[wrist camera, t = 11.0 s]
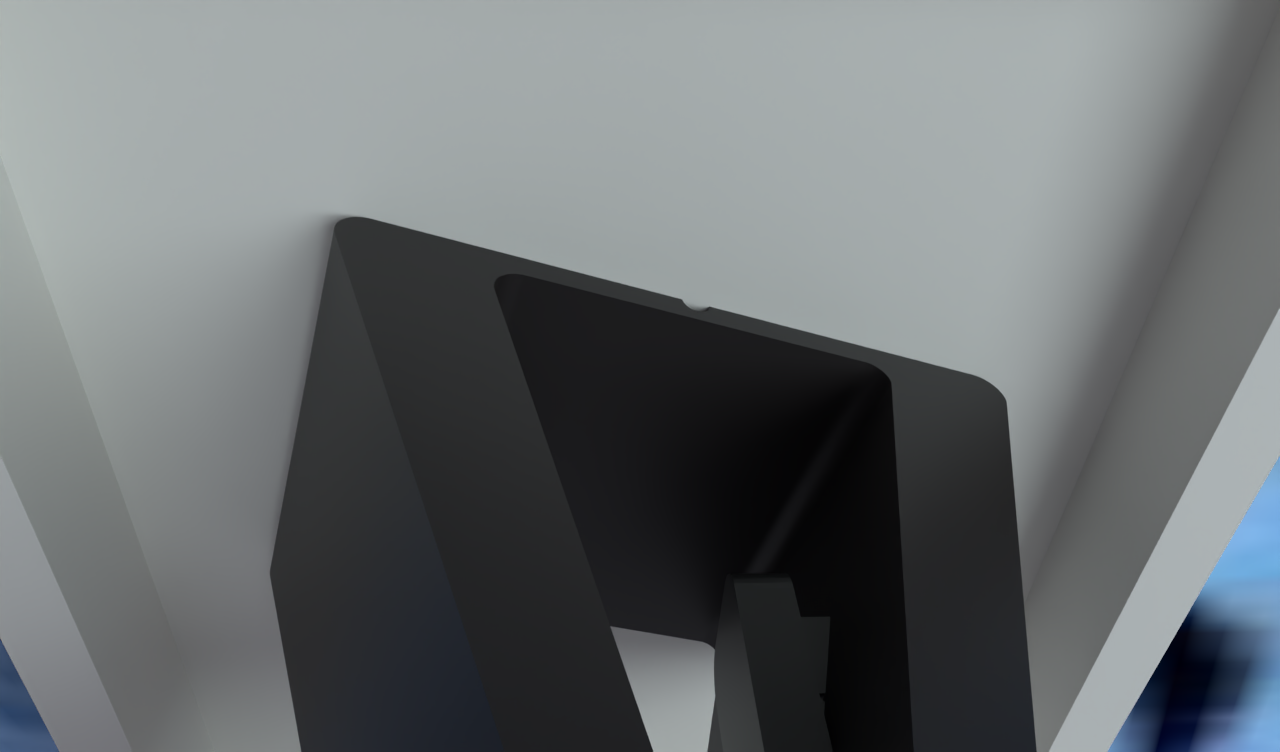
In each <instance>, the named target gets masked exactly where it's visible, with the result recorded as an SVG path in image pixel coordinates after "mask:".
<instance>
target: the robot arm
mask: <svg viewBox="0 0 1280 752" xmlns="http://www.w3.org/2000/svg"><path fill="white" fill-rule="evenodd" d="M829 631H830V617H801V616H800V612H799V608H798V604H797V600H796V595H795V591H794V587H793V584H792V581H791V578H790V576H789V575H788V574H787V573H747V574H728V575H727V577H726V580H725V585H724V592H723V599H722V605H721V612H720V619H719V625H718V632H717V638H716V645H715V653H714V686H715V698H716V706H717V713H718V720H719V727H720V733H721V740H722V747H723V752H833V749H832V745H831V741H830V737H829V732H828V728H827V724H826V720H825V716H824V710H825V701H823V698H824V695H825V693H826V678H827V663H828V647H829Z"/></svg>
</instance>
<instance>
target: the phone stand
mask: <svg viewBox="0 0 1280 752" xmlns="http://www.w3.org/2000/svg"><path fill="white" fill-rule="evenodd" d="M747 573H787V574H788V575H789V576H790V578H791V581H792V584H793V587H794V591H795V595H796V600H797V604H798V608H799V612H800V616H801V617H830V631H829V647H828V663H827V678H826V693H825V695H824V698H823V701H825V710H824V716H825V720H826V724H827V728H828V732H829V737H830V741H831V745H832V749H833V752H1037V749H1036V738H1035V726H1034V714H1033V703H1032V691H1031V679H1030V668H1029V656H1028V644H1027V633H1026V621H1025V609H1024V598H1023V586H1022V574H1021V563H1020V551H1019V539H1018V528H1017V516H1016V504H1015V492H1014V481H1013V469H1012V457H1011V446H1010V434H1009V422H1008V411H1007V401H1006V399H1005V397H1004V395H1003V394H1002V393H1001V392H1000V391H999V390H998V389H997V388H996V387H995V386H994V385H992V384H991V383H989V382H988V381H986V380H984V379H982V378H980V377H978V376H975V375H972V374H968V373H964V372H960V371H956V370H952V369H949V368H945V367H941V366H937V365H933V364H929V363H926V362H922V361H918V360H914V359H910V358H906V357H902V356H899V355H895V354H891V353H887V352H883V351H879V350H875V349H872V348H868V347H864V346H860V345H856V344H852V343H848V342H845V341H841V340H837V339H833V338H829V337H825V336H821V335H818V334H814V333H810V332H806V331H802V330H798V329H794V328H791V327H787V326H783V325H779V324H775V323H771V322H768V321H764V320H760V319H756V318H752V317H748V316H744V315H741V314H737V313H733V312H729V311H725V310H721V309H717V308H714V307H710V306H709V309H708V311H706V312H699V311H696V310H693V309H691V308H689V307H688V306H687V305H686V304H685V303H684V302H683V300H682V299H679V298H675V297H671V296H667V295H663V294H660V293H656V292H652V291H648V290H644V289H640V288H636V287H633V286H629V285H625V284H621V283H617V282H613V281H610V280H606V279H602V278H598V277H594V276H590V275H586V274H583V273H579V272H575V271H571V270H567V269H563V268H559V267H556V266H552V265H548V264H544V263H540V262H536V261H532V260H529V259H525V258H521V257H517V256H513V255H509V254H505V253H502V252H498V251H494V250H490V249H486V248H482V247H478V246H475V245H471V244H467V243H463V242H459V241H455V240H452V239H448V238H444V237H440V236H436V235H432V234H428V233H425V232H421V231H417V230H413V229H409V228H405V227H401V226H398V225H394V224H390V223H386V222H382V221H378V220H374V219H370V218H365V217H349V218H345V219H342V220H340V221H338V222H337V223H336V225H335V227H334V231H333V237H332V242H331V247H330V253H329V258H328V263H327V269H326V274H325V279H324V285H323V290H322V295H321V301H320V306H319V311H318V317H317V322H316V327H315V333H314V338H313V343H312V349H311V354H310V359H309V365H308V370H307V375H306V381H305V386H304V391H303V397H302V402H301V407H300V413H299V418H298V423H297V429H296V434H295V439H294V445H293V450H292V455H291V461H290V466H289V471H288V477H287V482H286V487H285V493H284V498H283V503H282V509H281V514H280V519H279V525H278V530H277V535H276V541H275V546H274V551H273V557H272V562H271V567H270V579H271V585H272V590H273V596H274V601H275V607H276V613H277V618H278V624H279V629H280V635H281V641H282V646H283V652H284V658H285V663H286V669H287V674H288V680H289V686H290V691H291V697H292V702H293V708H294V714H295V719H296V725H297V730H298V736H299V742H300V747H301V752H653V749H652V746H651V743H650V740H649V737H648V735H647V732H646V729H645V726H644V723H643V720H642V717H641V714H640V711H639V708H638V705H637V703H636V700H635V697H634V694H633V691H632V688H631V685H630V682H629V679H628V676H627V673H626V670H625V668H624V665H623V662H622V659H621V656H620V653H619V650H618V647H617V644H616V641H615V638H614V636H613V633H612V630H611V627H610V626H612V627H618V628H623V629H629V630H635V631H641V632H647V633H653V634H659V635H665V636H671V637H677V638H682V639H688V640H694V641H700V642H704V643H706V644H708V645H710V646H711V647H713V648H714V649H715V645H716V638H717V632H718V625H719V619H720V612H721V605H722V599H723V592H724V585H725V580H726V577H727V575H728V574H747ZM707 752H723V747H722V740H721V733H720V727H719V720H718V713H717V706H716V698H715V701H714V708H713V715H712V722H711V729H710V736H709V743H708V750H707Z"/></svg>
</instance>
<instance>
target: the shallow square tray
mask: <svg viewBox="0 0 1280 752" xmlns="http://www.w3.org/2000/svg"><path fill="white" fill-rule="evenodd" d="M349 217H365V218H370V219H374V220H378V221H382V222H386V223H390V224H394V225H398V226H401V227H405V228H409V229H413V230H417V231H421V232H425V233H428V234H432V235H436V236H440V237H444V238H448V239H452V240H455V241H459V242H463V243H467V244H471V245H475V246H478V247H482V248H486V249H490V250H494V251H498V252H502V253H505V254H509V255H513V256H517V257H521V258H525V259H529V260H532V261H536V262H540V263H544V264H548V265H552V266H556V267H559V268H563V269H567V270H571V271H575V272H579V273H583V274H586V275H590V276H594V277H598V278H602V279H606V280H610V281H613V282H617V283H621V284H625V285H629V286H633V287H636V288H640V289H644V290H648V291H652V292H656V293H660V294H663V295H667V296H671V297H675V298H679V299H682V300H683V302H684V303H685V304H686V305H687V306H688V307H689V308H691V309H693V310H696V311H699V312H706V311H708V309H709V306H710V307H714V308H717V309H721V310H725V311H729V312H733V313H737V314H741V315H744V316H748V317H752V318H756V319H760V320H764V321H768V322H771V323H775V324H779V325H783V326H787V327H791V328H794V329H798V330H802V331H806V332H810V333H814V334H818V335H821V336H825V337H829V338H833V339H837V340H841V341H845V342H848V343H852V344H856V345H860V346H864V347H868V348H872V349H875V350H879V351H883V352H887V353H891V354H895V355H899V356H902V357H906V358H910V359H914V360H918V361H922V362H926V363H929V364H933V365H937V366H941V367H945V368H949V369H952V370H956V371H960V372H964V373H968V374H972V375H975V376H978V377H980V378H982V379H984V380H986V381H988V382H989V383H991V384H992V385H994V386H995V387H996V388H997V389H998V390H999V391H1000V392H1001V393H1002V394H1003V395H1004V397H1005V399H1006V401H1007V411H1008V422H1009V434H1010V446H1011V457H1012V469H1013V481H1014V492H1015V504H1016V516H1017V528H1018V539H1019V551H1020V563H1021V574H1022V586H1023V598H1024V609H1025V621H1026V633H1027V644H1028V656H1029V668H1030V679H1031V691H1032V703H1033V714H1034V726H1035V738H1036V749H1037V752H1107V751H1108V749H1109V748H1110V746H1111V744H1112V743H1113V741H1114V739H1115V737H1116V736H1117V734H1118V732H1119V731H1120V729H1121V727H1122V725H1123V724H1124V722H1125V720H1126V718H1127V717H1128V715H1129V713H1130V712H1131V710H1132V708H1133V706H1134V705H1135V703H1136V701H1137V700H1138V698H1139V696H1140V694H1141V693H1142V691H1143V689H1144V688H1145V686H1146V684H1147V682H1148V681H1149V679H1150V677H1151V676H1152V674H1153V672H1154V670H1155V669H1156V667H1157V665H1158V664H1159V662H1160V660H1161V658H1162V657H1163V655H1164V653H1165V652H1166V650H1167V648H1168V646H1169V645H1170V643H1171V641H1172V639H1173V638H1174V636H1175V634H1176V633H1177V631H1178V629H1179V627H1180V626H1181V624H1182V622H1183V621H1184V619H1185V617H1186V615H1187V614H1188V612H1189V610H1190V609H1191V607H1192V605H1193V603H1194V602H1195V600H1196V598H1197V597H1198V595H1199V593H1200V591H1201V590H1202V588H1203V586H1204V585H1205V583H1206V581H1207V579H1208V578H1209V576H1210V574H1211V573H1212V571H1213V569H1214V567H1215V566H1216V564H1217V562H1218V560H1219V559H1220V557H1221V555H1222V554H1223V552H1224V550H1225V548H1226V547H1227V545H1228V543H1229V542H1230V540H1231V538H1232V536H1233V535H1234V533H1235V531H1236V530H1237V528H1238V526H1239V524H1240V523H1241V521H1242V519H1243V518H1244V516H1245V514H1246V512H1247V511H1248V509H1249V507H1250V506H1251V504H1252V502H1253V500H1254V499H1255V497H1256V495H1257V494H1258V492H1259V490H1260V488H1261V487H1262V485H1263V483H1264V481H1265V480H1266V478H1267V476H1268V475H1269V473H1270V471H1271V469H1272V468H1273V466H1274V464H1275V463H1276V461H1277V459H1278V457H1279V456H1280V0H0V639H1V641H2V643H3V645H4V647H5V649H6V651H7V652H8V654H9V656H10V658H11V660H12V662H13V664H14V666H15V668H16V670H17V672H18V673H19V675H20V677H21V679H22V681H23V683H24V685H25V687H26V689H27V691H28V693H29V694H30V696H31V698H32V700H33V702H34V704H35V706H36V708H37V710H38V712H39V714H40V716H41V717H42V719H43V721H44V723H45V725H46V727H47V729H48V731H49V733H50V735H51V737H52V738H53V740H54V742H55V744H56V746H57V748H58V750H59V752H301V747H300V742H299V736H298V730H297V725H296V719H295V714H294V708H293V702H292V697H291V691H290V686H289V680H288V674H287V669H286V663H285V658H284V652H283V646H282V641H281V635H280V629H279V624H278V618H277V613H276V607H275V601H274V596H273V590H272V585H271V579H270V567H271V562H272V557H273V551H274V546H275V541H276V535H277V530H278V525H279V519H280V514H281V509H282V503H283V498H284V493H285V487H286V482H287V477H288V471H289V466H290V461H291V455H292V450H293V445H294V439H295V434H296V429H297V423H298V418H299V413H300V407H301V402H302V397H303V391H304V386H305V381H306V375H307V370H308V365H309V359H310V354H311V349H312V343H313V338H314V333H315V327H316V322H317V317H318V311H319V306H320V301H321V295H322V290H323V285H324V279H325V274H326V269H327V263H328V258H329V253H330V247H331V242H332V237H333V231H334V227H335V225H336V223H337V222H338V221H340V220H342V219H345V218H349ZM610 627H611V630H612V633H613V636H614V638H615V641H616V644H617V647H618V650H619V653H620V656H621V659H622V662H623V665H624V668H625V670H626V673H627V676H628V679H629V682H630V685H631V688H632V691H633V694H634V697H635V700H636V703H637V705H638V708H639V711H640V714H641V717H642V720H643V723H644V726H645V729H646V732H647V735H648V737H649V740H650V743H651V746H652V749H653V752H707V750H708V743H709V736H710V729H711V722H712V715H713V708H714V701H715V686H714V653H715V649H714V648H713V647H711V646H710V645H708V644H706V643H704V642H700V641H694V640H688V639H682V638H677V637H671V636H665V635H659V634H653V633H647V632H641V631H635V630H629V629H623V628H618V627H612V626H610Z"/></svg>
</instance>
